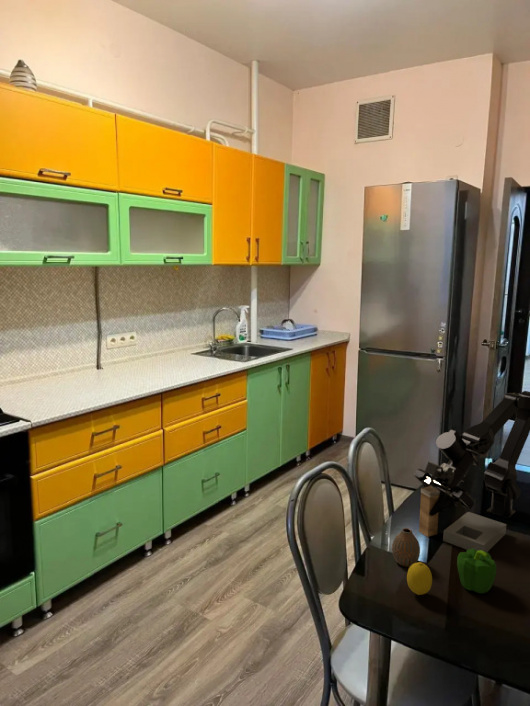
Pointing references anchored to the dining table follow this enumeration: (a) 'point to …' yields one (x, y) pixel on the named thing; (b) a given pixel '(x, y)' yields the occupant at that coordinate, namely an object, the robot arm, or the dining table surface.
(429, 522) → the wooden square peg
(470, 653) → the dining table surface
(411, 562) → the vase
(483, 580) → the bell pepper
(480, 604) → the dining table surface
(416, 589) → the lemon
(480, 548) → the block with square hole
